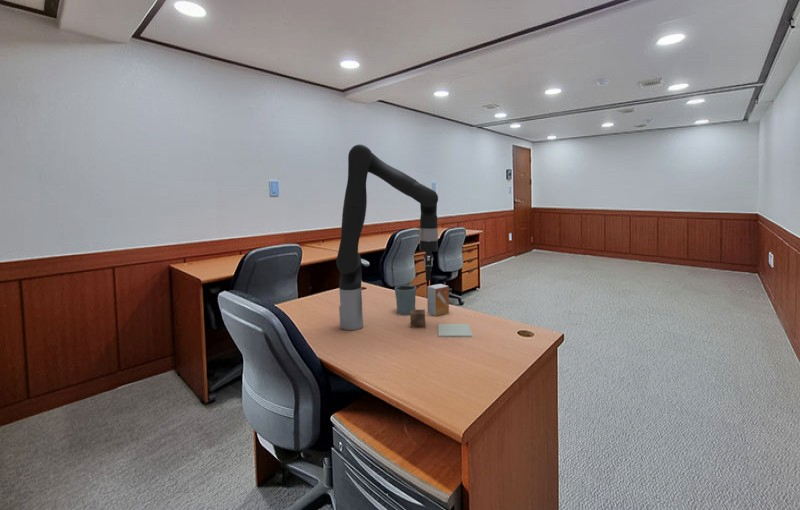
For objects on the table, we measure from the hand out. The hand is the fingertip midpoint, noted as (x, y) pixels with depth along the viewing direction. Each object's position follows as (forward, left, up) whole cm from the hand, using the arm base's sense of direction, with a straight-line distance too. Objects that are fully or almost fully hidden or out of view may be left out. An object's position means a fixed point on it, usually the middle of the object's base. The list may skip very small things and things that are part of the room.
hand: (428, 277), depth 157 cm
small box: (+4, +17, -21) cm, 27 cm away
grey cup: (-11, +19, -21) cm, 30 cm away
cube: (-5, +1, -21) cm, 21 cm away
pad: (+10, -6, -21) cm, 24 cm away
